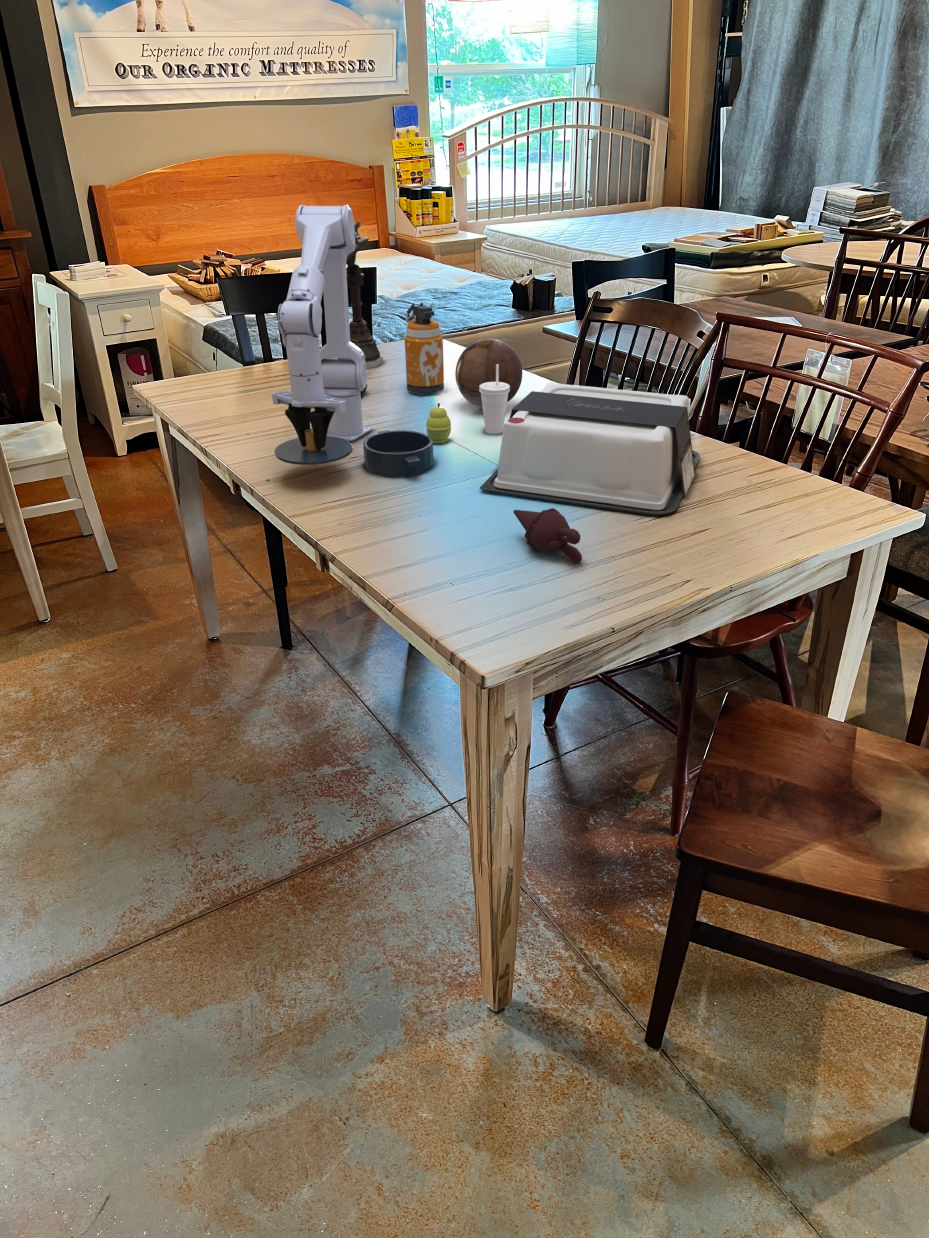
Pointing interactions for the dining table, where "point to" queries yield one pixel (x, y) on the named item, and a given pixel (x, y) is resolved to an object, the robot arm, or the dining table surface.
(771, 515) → the dining table surface
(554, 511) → the icecream
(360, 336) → the dark brown tall piece
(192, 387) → the dining table surface
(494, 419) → the smoothie
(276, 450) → the lid
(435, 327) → the canister
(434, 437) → the pear
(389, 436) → the pan
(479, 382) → the wooden sphere
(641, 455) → the cake box
